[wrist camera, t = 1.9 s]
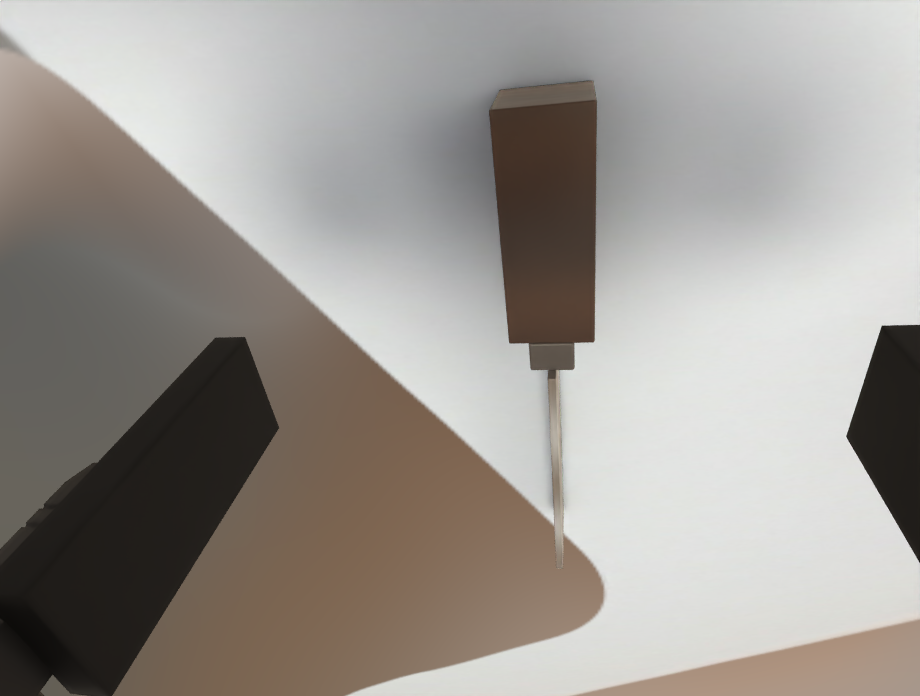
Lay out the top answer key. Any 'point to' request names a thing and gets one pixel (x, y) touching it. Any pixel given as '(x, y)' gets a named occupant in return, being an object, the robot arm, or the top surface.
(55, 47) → the top surface
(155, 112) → the top surface
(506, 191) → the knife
